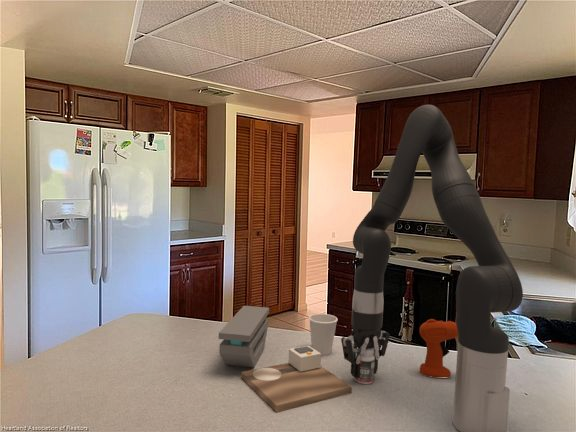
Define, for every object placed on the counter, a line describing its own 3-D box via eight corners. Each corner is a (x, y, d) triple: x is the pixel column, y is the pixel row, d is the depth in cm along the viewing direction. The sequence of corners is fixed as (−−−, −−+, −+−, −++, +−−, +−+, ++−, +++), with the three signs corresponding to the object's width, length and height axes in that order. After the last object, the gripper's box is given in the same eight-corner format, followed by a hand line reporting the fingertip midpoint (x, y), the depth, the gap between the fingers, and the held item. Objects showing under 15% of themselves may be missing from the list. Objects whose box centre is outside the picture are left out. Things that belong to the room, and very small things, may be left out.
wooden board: (351, 392, 102) (351, 385, 101) (276, 412, 92) (276, 404, 91) (309, 363, 117) (309, 357, 117) (241, 377, 107) (241, 371, 107)
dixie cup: (336, 347, 130) (337, 314, 129) (336, 358, 122) (337, 323, 121) (308, 345, 131) (309, 312, 130) (306, 355, 123) (307, 321, 122)
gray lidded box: (248, 379, 107) (249, 335, 106) (217, 375, 108) (218, 332, 107) (267, 343, 131) (269, 307, 131) (242, 340, 132) (243, 305, 132)
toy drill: (499, 379, 109) (495, 320, 108) (421, 379, 112) (417, 322, 111) (493, 370, 114) (489, 314, 113) (418, 371, 117) (414, 317, 116)
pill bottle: (351, 381, 108) (353, 348, 107) (357, 374, 112) (359, 342, 111) (370, 386, 105) (372, 352, 105) (375, 378, 110) (377, 346, 109)
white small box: (320, 367, 111) (321, 352, 111) (300, 371, 108) (301, 355, 108) (307, 358, 116) (308, 344, 116) (288, 362, 113) (289, 347, 113)
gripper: (379, 301, 114) (375, 364, 115) (335, 307, 107) (331, 374, 108) (400, 308, 108) (395, 375, 109) (354, 315, 100) (350, 387, 102)
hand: (363, 374), depth 108 cm, fingers closed on pill bottle, 4 cm apart
